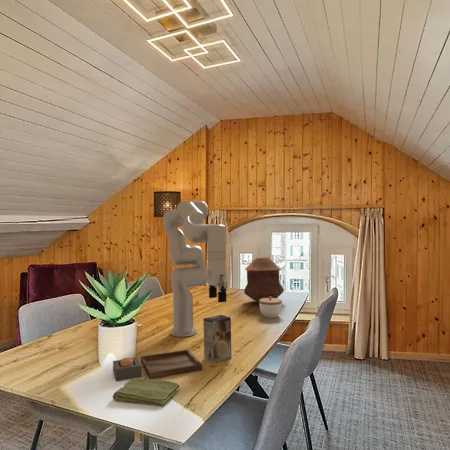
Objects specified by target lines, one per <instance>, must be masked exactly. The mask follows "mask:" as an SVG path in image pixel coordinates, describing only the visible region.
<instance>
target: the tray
mask: <svg viewBox="0 0 450 450" xmlns="http://www.w3.org/2000/svg"><path fill="white" fill-rule="evenodd" d="M140 364H141V367H142V368H143V369H144V371H145V373H146V375H147V376H148V378H149V380H156V379H160V378H166V377H171V376H177V375H182V374H187V373H188V374H189V373H193V372H199V371H203V363H202V362H201V361H200V360H199V359H198V358H197V357H196V356H195V355H194V354H193V353H192V352H191V351H190V350H189V349H183V350H175V351H168V352H162V353H155V354H149V355H143V356H142V355H141V356H140Z"/></svg>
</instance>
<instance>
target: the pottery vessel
mask: <svg viewBox="0 0 450 450" xmlns="http://www.w3.org/2000/svg"><path fill="white" fill-rule="evenodd" d="M244 270H245V271H246V278H247V279H246V280H247V281H246V282H247V283H246V284H245V287H244V290H243V293H244V295H246V296H247V297H248V298H250V299H252V300H253V301H255V302H257V303H256V304H258V305H259V300H260V299H262V298H269V297H270V296H271V298H277V299H279V297H280V296H281V295H282V294H283V293H284V291H285V289H284V288H283V286H282V284H281V283H280V271H281V270H282V269H281V267H279V266H278V265H277V263H275V262H274V261H273V260H272V259H271V258H270V257H269V256H260V257H255V258H254V260H252V261H251V262H250V264H249V265H247V266H246V267H245V268H244Z"/></svg>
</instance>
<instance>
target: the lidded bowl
mask: <svg viewBox="0 0 450 450" xmlns="http://www.w3.org/2000/svg"><path fill="white" fill-rule="evenodd" d="M258 305H259V311H260V313H261V314H262V315H263V317H265V318H269V319H272V318H273V319H274V318H277V317H278V316H279V315H280V313H281V311H282V299H281V298H271V296H270V297H269V298H262V299H260V300H259V304H258Z"/></svg>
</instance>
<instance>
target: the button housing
mask: <svg viewBox="0 0 450 450" xmlns="http://www.w3.org/2000/svg"><path fill="white" fill-rule="evenodd" d="M132 358H133V365H131V366H125V367H121V364H120V361H121V359H117V360H113V361H112V372H114V373H113V376H114V380H115V379H116V380H115V381H116V382H120V381H126V380H131V379H135V378H139V379H140V378H142V375H143V374H142V373H143V372H142V364H141V361H140V360H139V359H138V357H137V356H136V357H132Z"/></svg>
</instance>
